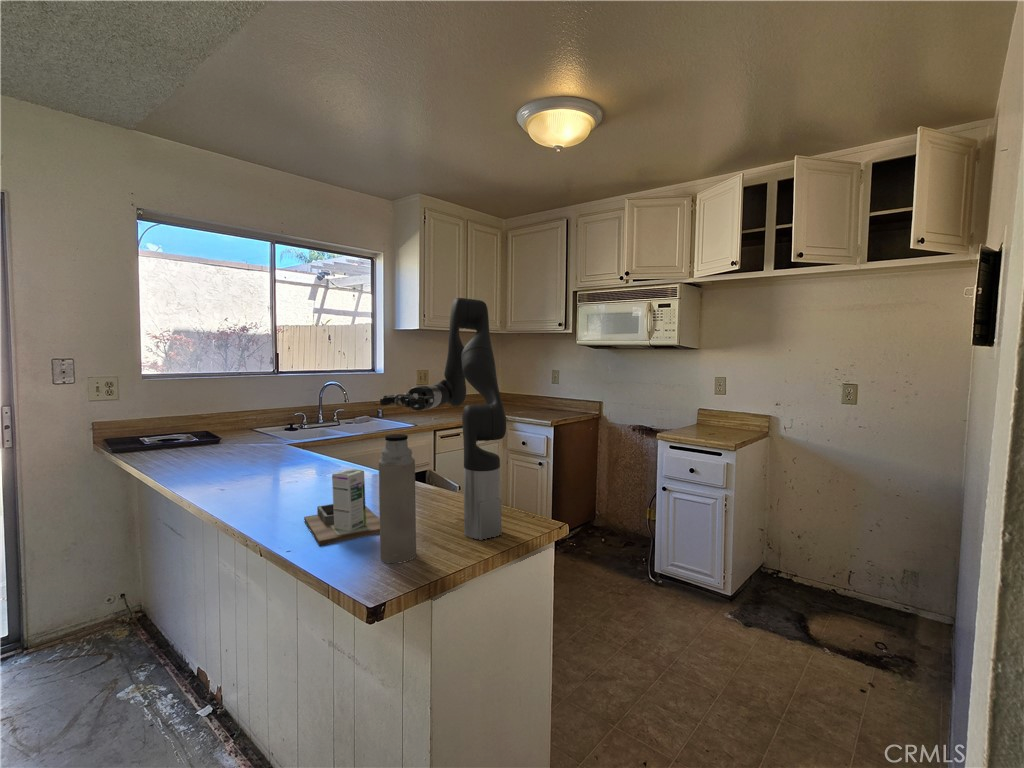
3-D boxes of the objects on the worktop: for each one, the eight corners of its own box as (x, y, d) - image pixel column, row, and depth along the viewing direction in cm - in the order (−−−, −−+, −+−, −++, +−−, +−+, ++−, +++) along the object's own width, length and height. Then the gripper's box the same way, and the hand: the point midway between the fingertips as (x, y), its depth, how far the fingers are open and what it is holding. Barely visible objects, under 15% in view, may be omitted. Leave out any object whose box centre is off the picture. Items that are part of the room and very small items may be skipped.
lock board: (388, 531, 127) (388, 518, 127) (319, 545, 118) (319, 531, 118) (366, 510, 144) (365, 498, 144) (304, 521, 135) (303, 508, 135)
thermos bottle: (384, 549, 116) (382, 432, 114) (418, 548, 116) (417, 431, 114) (376, 564, 108) (374, 438, 106) (413, 563, 108) (411, 438, 106)
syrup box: (351, 532, 123) (349, 475, 122) (333, 528, 126) (331, 472, 125) (366, 524, 128) (365, 470, 127) (348, 521, 131) (347, 467, 130)
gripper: (405, 384, 157) (372, 388, 142) (444, 386, 151) (414, 390, 136) (405, 408, 157) (373, 414, 142) (444, 410, 152) (415, 417, 137)
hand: (393, 402), depth 139 cm, fingers open, 8 cm apart
